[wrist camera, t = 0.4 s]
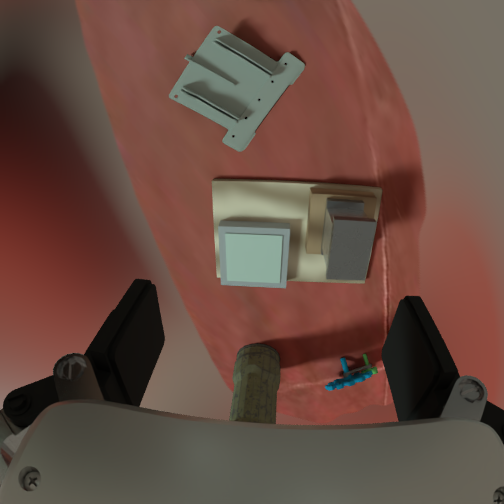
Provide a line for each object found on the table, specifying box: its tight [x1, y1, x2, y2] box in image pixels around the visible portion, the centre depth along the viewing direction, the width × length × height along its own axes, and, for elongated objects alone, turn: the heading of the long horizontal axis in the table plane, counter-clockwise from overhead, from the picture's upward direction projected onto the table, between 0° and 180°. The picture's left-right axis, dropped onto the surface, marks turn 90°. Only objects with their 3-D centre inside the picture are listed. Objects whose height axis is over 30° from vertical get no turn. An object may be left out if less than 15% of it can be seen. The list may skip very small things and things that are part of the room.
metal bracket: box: [169, 26, 305, 152], centre depth 37 cm, size 14×6×15 cm
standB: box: [218, 220, 290, 288], centre depth 47 cm, size 10×10×2 cm
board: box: [212, 179, 382, 283], centre depth 47 cm, size 16×24×1 cm, turn 90°
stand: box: [305, 188, 377, 254], centre depth 43 cm, size 9×9×2 cm
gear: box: [325, 354, 378, 391], centre depth 59 cm, size 11×6×10 cm
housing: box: [321, 198, 377, 281], centre depth 39 cm, size 8×5×7 cm, turn 0°
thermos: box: [229, 343, 280, 424], centre depth 46 cm, size 9×12×35 cm
